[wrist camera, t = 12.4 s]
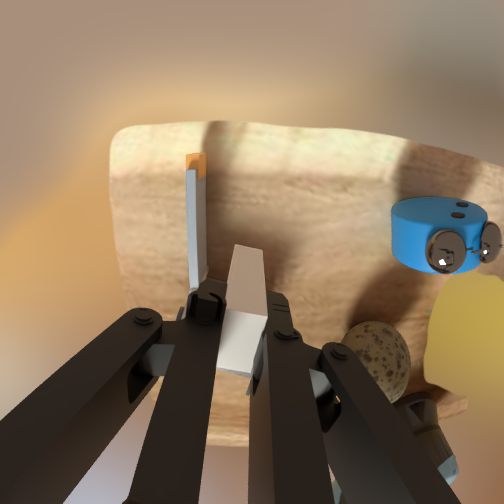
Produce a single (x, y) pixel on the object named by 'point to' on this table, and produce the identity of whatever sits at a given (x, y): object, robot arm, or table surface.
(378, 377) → the decorative egg
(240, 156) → the table surface
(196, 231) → the side door
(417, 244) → the alarm clock
